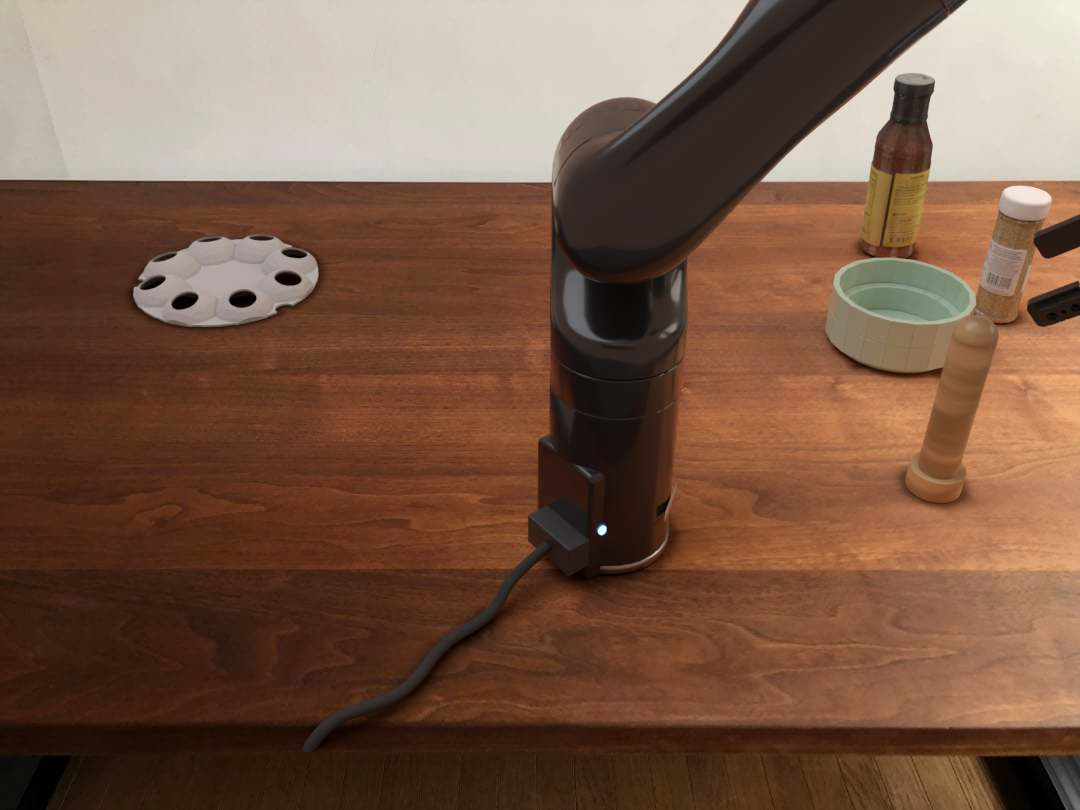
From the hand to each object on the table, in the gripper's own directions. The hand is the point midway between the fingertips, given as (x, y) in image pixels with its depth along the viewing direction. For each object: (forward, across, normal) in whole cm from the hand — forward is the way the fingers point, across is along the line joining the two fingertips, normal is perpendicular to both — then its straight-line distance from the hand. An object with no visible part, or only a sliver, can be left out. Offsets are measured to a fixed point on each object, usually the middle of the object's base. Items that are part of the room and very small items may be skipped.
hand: (1035, 280), depth 77 cm
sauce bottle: (+25, -36, +11) cm, 45 cm away
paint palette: (+72, -2, -35) cm, 80 cm away
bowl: (+20, -16, +10) cm, 28 cm away
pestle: (+14, +6, +12) cm, 19 cm away
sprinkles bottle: (+14, -26, +18) cm, 34 cm away
